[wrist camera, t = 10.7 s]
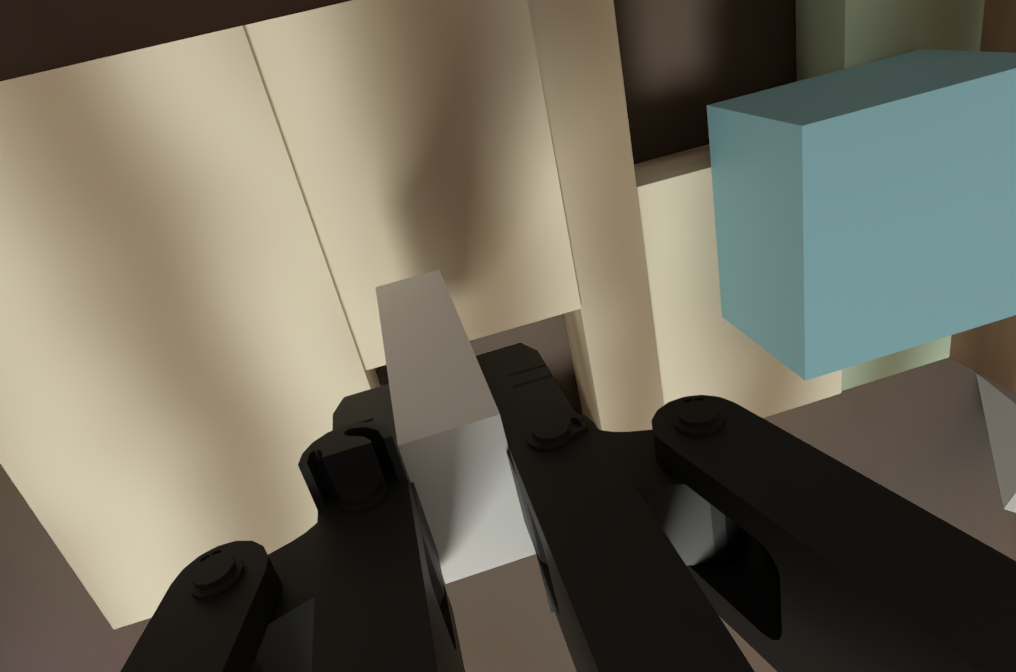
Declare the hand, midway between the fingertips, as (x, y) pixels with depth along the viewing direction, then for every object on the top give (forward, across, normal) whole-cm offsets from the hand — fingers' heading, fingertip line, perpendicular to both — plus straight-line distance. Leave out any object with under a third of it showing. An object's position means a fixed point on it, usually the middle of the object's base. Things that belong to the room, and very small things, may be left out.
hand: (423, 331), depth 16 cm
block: (+2, +11, 0) cm, 12 cm away
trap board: (+4, +3, 0) cm, 5 cm away
